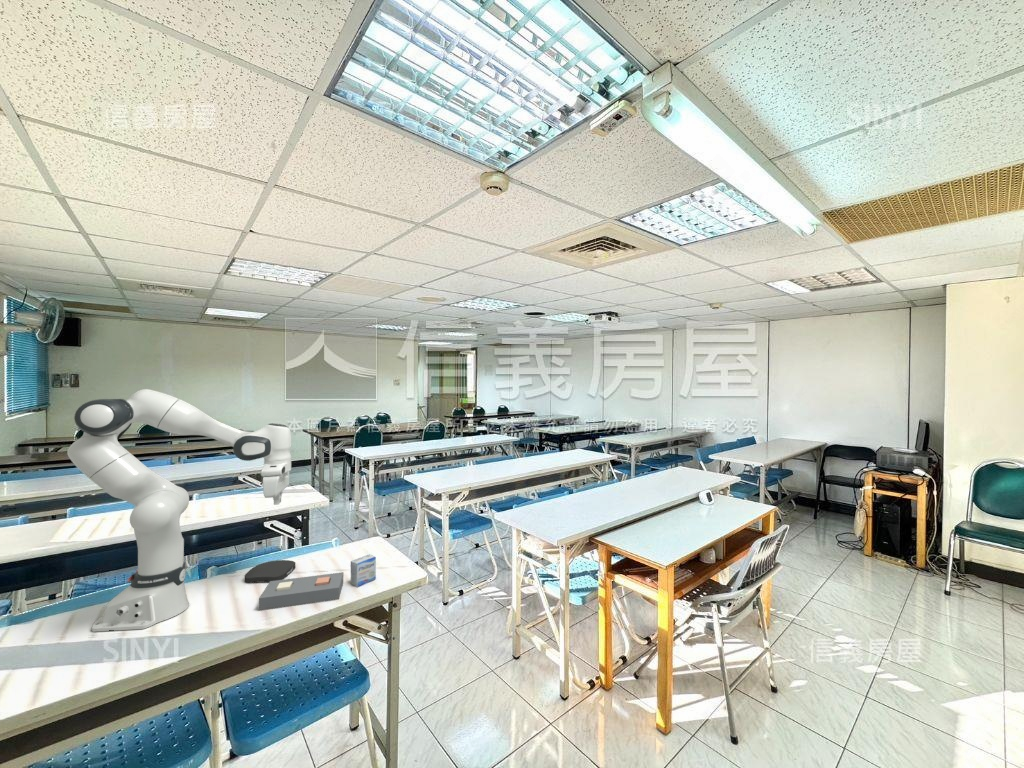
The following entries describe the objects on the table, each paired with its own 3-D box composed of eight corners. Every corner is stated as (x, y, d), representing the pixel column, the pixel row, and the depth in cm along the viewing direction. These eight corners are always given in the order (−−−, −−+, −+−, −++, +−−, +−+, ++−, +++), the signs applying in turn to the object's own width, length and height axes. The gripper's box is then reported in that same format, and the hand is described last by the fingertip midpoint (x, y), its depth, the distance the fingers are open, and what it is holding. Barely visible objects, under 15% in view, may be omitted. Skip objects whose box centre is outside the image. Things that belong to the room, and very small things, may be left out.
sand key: (276, 597, 132) (276, 588, 132) (279, 591, 136) (279, 582, 136) (289, 595, 133) (289, 586, 133) (292, 589, 137) (292, 581, 137)
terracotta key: (315, 592, 136) (315, 583, 136) (317, 586, 139) (317, 578, 140) (328, 590, 137) (328, 581, 137) (329, 584, 141) (330, 576, 141)
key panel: (258, 610, 127) (258, 598, 127) (270, 592, 139) (270, 581, 139) (338, 599, 134) (339, 587, 134) (343, 583, 146) (343, 572, 146)
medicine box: (356, 587, 142) (357, 563, 142) (350, 584, 145) (350, 560, 145) (376, 579, 148) (376, 556, 149) (369, 576, 151) (369, 553, 151)
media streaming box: (261, 567, 160) (261, 560, 160) (299, 566, 161) (299, 558, 161) (239, 585, 145) (239, 576, 145) (280, 583, 146) (280, 575, 146)
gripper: (276, 462, 156) (275, 497, 156) (259, 472, 137) (258, 512, 136) (293, 461, 158) (293, 496, 158) (279, 471, 139) (279, 510, 138)
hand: (277, 503), depth 147 cm, fingers closed
